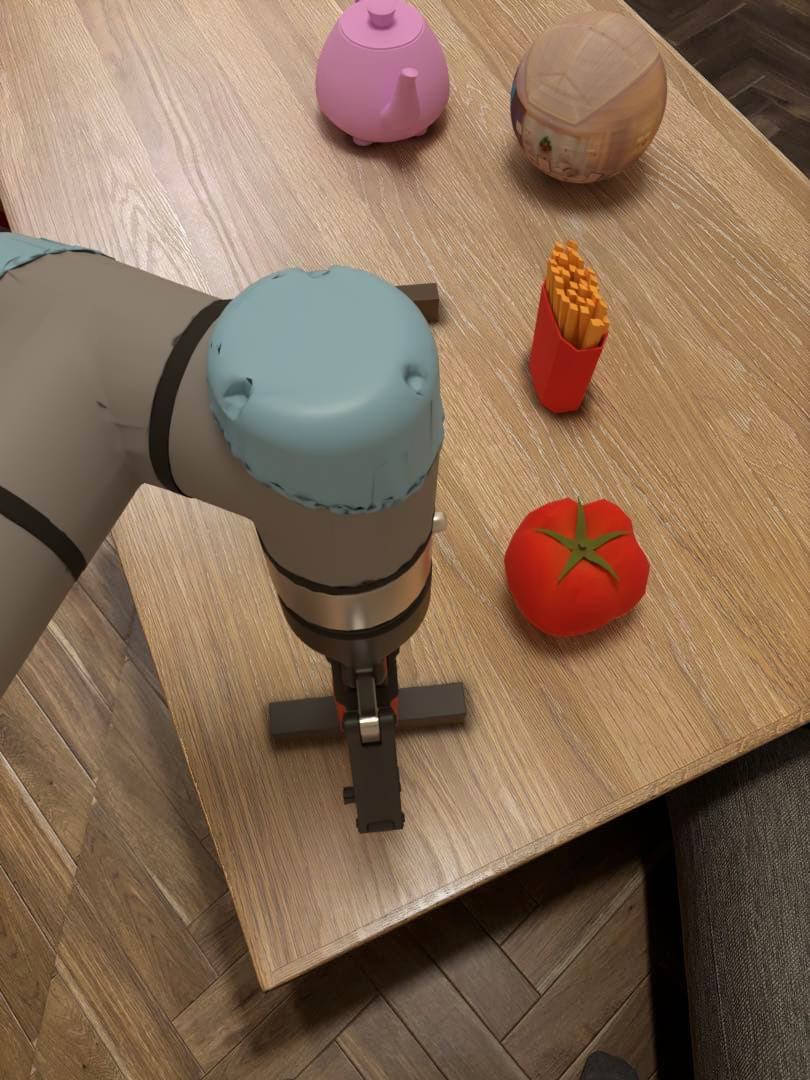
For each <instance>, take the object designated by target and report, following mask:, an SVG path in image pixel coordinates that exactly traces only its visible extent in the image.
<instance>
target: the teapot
mask: <svg viewBox="0 0 810 1080" xmlns="http://www.w3.org/2000/svg"><path fill="white" fill-rule="evenodd" d="M446 59H447V58H446V56H445V53H444V51H443V48H442V45H441V43H440V41H439V40H438V38H437V36H436V34H435V33H434V31H433V29H432V27H431V26H430V24H429V23H428V20H426V18H425V17H424V16H423V15H422V13H421V12H420V11H419V10H418V8H416V7H415V6H413V5H411V4H410V3H408V2H406V1H404V0H354V3H353V4H351V5H350V6H348V7H347V8H346V9H345V10H344V11H343V12H342V13H341V14H340V16H339V17H338V18H337V20H336V22H335V23H334V25H333V27H332V28H331V30H330V32H329V34H328V35H327V37H326V39H325V41H324V43H323V45H322V48H321V51H320V54H319V56H318V59H317V60H318V61H317V66H316V72H315V80H314V83H315V85H314V86H315V96H316V100H317V103H318V105H319V107H320V109H321V111H322V113H323V114H324V116H325V117H327V118H328V120H329V121H330V122H332V124H333V125H335V126H336V127H337V128H339V129H340V130H342V131H343V132H344V133H346V134H348V135H350V136H351V137H352V141H353V142H354V143H355V144H356V145H358V146H363V147H364V146H365V147H366V146H370V145H372V144H373V143H392V142H398V141H403V140H407V139H409V138H412V137H420V136H423V135H424V134H426V133H427V131H428V127H429V126H431V125H432V124H433V123H435V121H436V120H437V119H438V118H439V117H440V116H441V114H443V112H444V110H445V108H446V106H447V103H448V102H449V98H450V91H451V90H450V89H451V87H450V85H451V84H450V74H449V68H448V63H447V60H446Z"/></svg>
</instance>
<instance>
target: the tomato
mask: <svg viewBox="0 0 810 1080" xmlns="http://www.w3.org/2000/svg"><path fill="white" fill-rule="evenodd" d="M503 564H504V570H505V575H506V580H507V581H506V582H507V585H508V588H509V589H508V590H509V592H510V594H511V595H512V597H513V599H514V601H515V604H516V606H517V608H518V610H519V611H520V612H521V614H523V616H524V617H525V619H526V620H527V621H528V622H529V623H530V624H531V625H532V626H534V627H535V628H536V629H538V630H540V631H541V632H542V633H544V634H545V635H547V636H552V637H557V638H568V637H574V636H580V635H584V634H587V633H591V632H593V631H596V630H600V629H601V628H603V627H605V626H606V625H608V624H609V623H610V622H611V621H613V620H616V619H617V618H620V617H622V616H625V615H626V614H628V613H629V614H630V612H631V611H632V610H633V609H634V608H635V606H637V604H638V603H639V602H640V601H641V600H642V599H643V597H644V596H645V594H646V591H647V586H648V580H649V574H650V567H651V565H650V564H651V563H650V562H649V560H648V558H647V555H646V554H645V552H644V551H643V549H642V547H641V546H640V544H639V542H638V541H637V538H636V536H635V532H634V526H633V521H632V519H631V518H630V517H629V516H628V515H627V514H626V512H624V510H623V509H622V508H621V507H620V506H619V505H617V504H615V503H613V502H611V501H610V500H608V499H606V498H601V499H598V500H594V501H591V502H587V503H584V504H582V501H581V499H580V497H579V496H577V501H576V500H575V499H572V498H570V497H564V498H561V499H556V500H554V501H549V502H547V503H545V504H543V505H541V506H539V507H538V508H535V509H534V510H532V511H530V512H529V513H527V515H526V516H525V517H524V518H523V520H522V521H521V523H520V524H519V525H518V527H517V528H516V530H515V531H514V533H513V534H512V537H511V539H510V541H509V544H508V545H507V548H506V550H505V553H504V557H503Z"/></svg>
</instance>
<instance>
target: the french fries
mask: <svg viewBox="0 0 810 1080" xmlns="http://www.w3.org/2000/svg"><path fill="white" fill-rule="evenodd" d="M578 249H579V244H578V243H577V242H575V241H573V240H571V239H569V238H567V240H566V246H565V248H564V245H563V244H562V243H560V242H558V241H556V240H555V241H554V248H553V249H551V258H549V257H547V263H546V264H547V265H546V276H545V279H544V280H543V282H542V286H541V290H540V294H539V295H540V296H539V301H538V307H537V312H536V313H537V314H536V318H535V319H536V320H535V326H534V332H533V337H532V343H531V349H530V356H529V360H528V361H529V362H528V369H529V372H530V376H531V379H532V383H533V386H534V389H535V392H536V395H537V398H538V400H539V403H540V405H541V406H543V407H545V408H546V409H547V410H549V411H551V412H552V413H554V414H561V413H567V412H568V413H569V412H574V411H578V409H579V407H580V405H581V404H582V402H583V400H584V398H585V396H586V393H587V390H588V388H589V385H590V383H591V380H592V377H593V375H594V372H595V370H596V367H597V364H598V363H599V360H600V358H601V354H602V351H603V350H604V346H605V345H606V341H607V339H608V336H609V334H610V331H609V328H610V326H611V322H610V320H609V318H608V316H607V315H608V306H607V303H606V302H605V301H603V299H604V298H603V297H602V296H601V295H600V287H599V282H598V278H597V277H596V273H595V271H594V270H593V268H592V267H589V266H587V265H586V266H585V260H584V259H583V258H582V256H580V255H579V253H578ZM584 267H585V268H584Z"/></svg>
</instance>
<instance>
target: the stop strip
mask: <svg viewBox="0 0 810 1080" xmlns="http://www.w3.org/2000/svg"><path fill="white" fill-rule="evenodd" d="M394 286H395V287H397V288H398V289H399V290H401V291H402V292H403V293H404V294H405V295H406V296H407V297H408V298H409V299H410V300H411V301H413V303H414V304H415V305H416V306H417V307H418V308H419V310H420V311H421V313H422V314H423V316H424V317H425V319H426V321H427V323H430V322H431V323H432V322H439V312H440V311H439V309H440V296H439V295H440V294H439V290H438V283H437V282H428V283H414V284H402V285H394ZM233 299H234V298H227V299H225V298H224V300H233Z"/></svg>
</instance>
